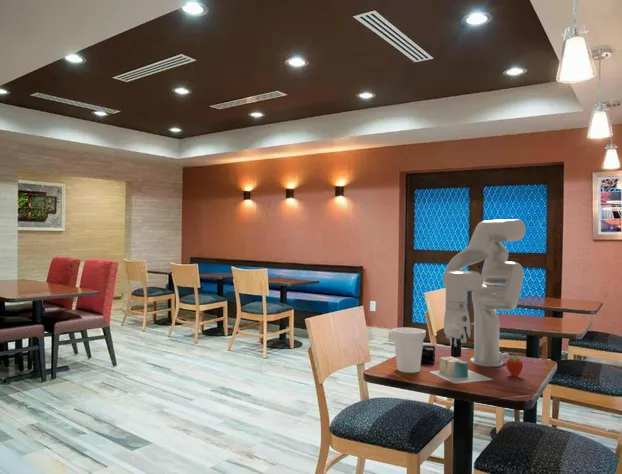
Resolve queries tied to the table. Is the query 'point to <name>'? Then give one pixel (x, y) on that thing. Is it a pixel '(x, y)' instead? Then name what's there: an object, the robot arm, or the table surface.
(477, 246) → the robot arm
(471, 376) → the mat
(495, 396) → the table surface
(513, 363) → the fruit
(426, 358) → the black box
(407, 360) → the cup
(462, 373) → the beech block
